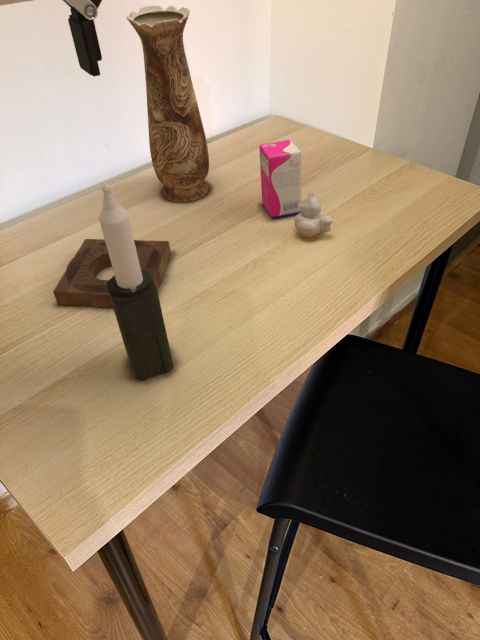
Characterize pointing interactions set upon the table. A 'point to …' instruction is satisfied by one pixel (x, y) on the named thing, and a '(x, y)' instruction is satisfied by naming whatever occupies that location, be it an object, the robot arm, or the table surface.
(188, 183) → the vase
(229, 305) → the table surface
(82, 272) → the hole plate
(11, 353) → the table surface
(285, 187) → the supplement box
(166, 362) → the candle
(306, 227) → the white animal figurine
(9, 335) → the table surface
